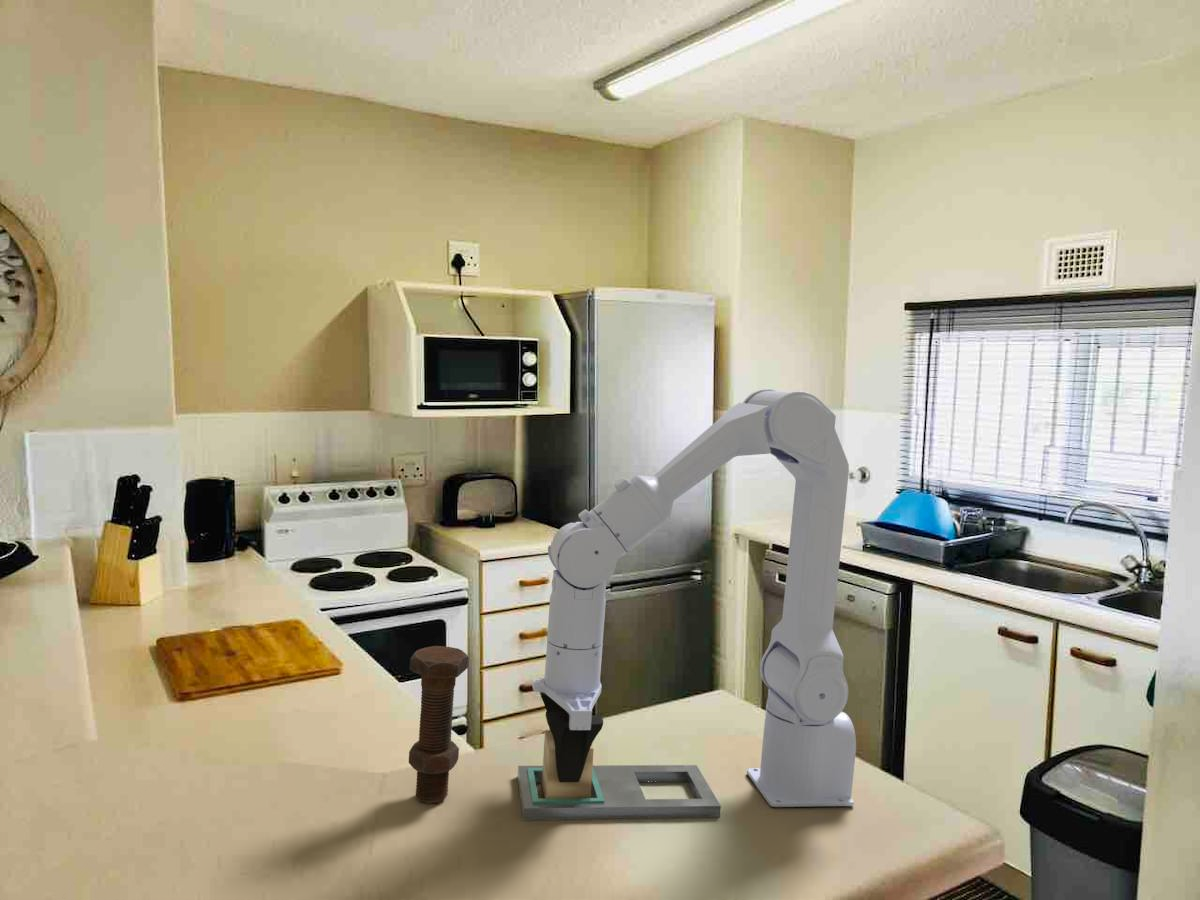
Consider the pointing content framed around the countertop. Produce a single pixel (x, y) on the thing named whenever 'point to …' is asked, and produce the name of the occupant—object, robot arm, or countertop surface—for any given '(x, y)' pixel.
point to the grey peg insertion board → (620, 794)
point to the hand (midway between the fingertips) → (565, 769)
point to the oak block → (550, 777)
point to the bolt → (436, 719)
